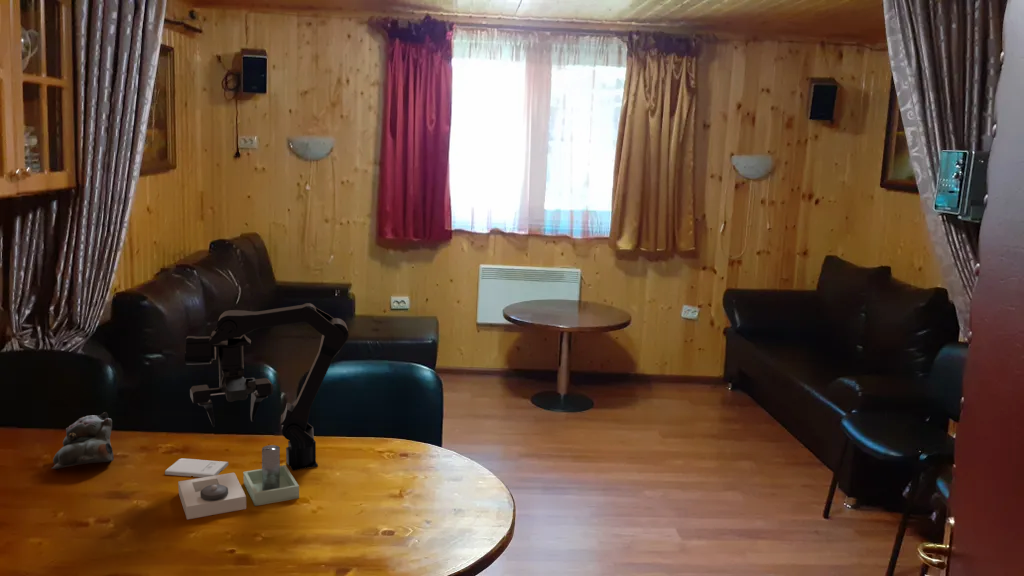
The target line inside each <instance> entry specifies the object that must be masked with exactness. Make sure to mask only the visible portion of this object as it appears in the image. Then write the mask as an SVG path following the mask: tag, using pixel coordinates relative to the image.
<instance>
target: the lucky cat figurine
mask: <svg viewBox="0 0 1024 576" xmlns="http://www.w3.org/2000/svg"><path fill="white" fill-rule="evenodd" d="M112 429H113V420H112V418H109V413H108V412H107V411H105V412H103V413H101V414H100V415H95V414H94V415H93V414H92V415H86V416H81V417H80V418H78V419H77V420H76V421H75V422H73V423H72V424H70V425H69V426H68V427H65V431H66V432H65V435H66V436H65V437H64V439H63V441H62V445H63V446H62V447H61V448H60V449H59V450H58V451H57V452H56V453H55V455H54V457H53V458H52V461H53V462H52V463H53V464H54V465H53V467H52V466H51V469H55V471H58V470H60V469H63V468H67V467H72V466H73V467H74V466H77V465H86V464H94V463H95V464H96V463H112V462H113V461H114V459H115V457H114V451H113V447H112V444H111V434H112Z"/></svg>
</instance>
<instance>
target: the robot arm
mask: <svg viewBox="0 0 1024 576" xmlns="http://www.w3.org/2000/svg"><path fill="white" fill-rule="evenodd" d="M305 322H306V323H307V324H308V325H310V326H311V327H312V328H313V329H315V330H316V331H317V332H318V333H320V334H321V339H320V345H319V349H318V352H317V354H316V357H315V358H314V361H313V362H312V365H311V367H310V369H309V371H308V374H307V376H306V379H305V381H304V383H303V385H302V386H301V389H300V392H299V394H298V396H297V398H296V400H294V402H293V403H290V402H287V403H286V406H285V409H284V411H283V413H282V414H281V415H280V426H281V434H282V436H283V437H284V438H285V439H286V440H288V443H287V447H286V448H285V453H286V454H285V457H286V462H285V463H286V464H287V465H288V467H289V468H290V469H291V470H292V471H298V470H299V471H300V470H304V469H305V470H306V469H311V468H317V467H318V466H319V463H318V462H317V458H316V457H317V456H316V455H317V451H316V449H317V444H316V443H317V442H316V440H315V436H314V426H312V425H311V424H310V423H309V418H310V411H311V408H312V405H313V404H314V402H315V399H316V396H317V394H318V393H319V390H320V388H321V386H322V384H323V382H324V379H325V377H326V376H327V372H329V371H328V370H329V368H330V366H331V364H332V362H333V359H335V357H336V356H337V355H338V354H339V353H340V351H341V350H342V348H343V347H344V346H345V344H346V342H347V341H348V339H349V336H350V334H349V329H348V326H347V324H346V322H345V321H344V320H343V319H342V318H338V317H335V318H334V317H333V316H331V315H330V314H328V313H326V312H324V311H323V310H321V309H319V308H317V307H316V306H315V305H314V304H313V303H311V302H309V303H308V302H306V303H304V304H300V305H299V304H298V305H293V306H292V305H291V306H286V307H278V308H273V309H271V308H270V309H267V310H260V311H250V310H243V309H242V310H241V309H239V310H237V309H234V310H233V309H232V310H231V309H229V310H225V311H224V312H223V313H221V314H220V316H219V318H218V320H217V323H216V328H215V329H214V330H212V332H211V334H210V336H195V335H187V337H185V352H184V363H185V365H187V366H189V365H193V366H194V365H211V364H212V362H213V360H217V354H218V375H219V376H218V379H219V385H218V386H219V387H214V388H213V387H212V388H209V385H208V384H200V385H192V386H191V388H190V389H189V396H190V399H191V401H192V404H195V405H196V404H198V406H200V407H204V409H205V411H206V413H207V415H208V418H209V420H210V422H211V426H212V427H213V428H214V427H215V426H216V425H215V424H216V423H215V415H214V409H213V402H212V400H211V399H212V397H218V396H225V398H226V399H225V400H226V401H227V402H230V403H231V402H234V401H246V400H247V399H248V397H249V394H250V413H249V414H250V421H251V422H254V421H255V419H256V418H255V417H256V415H257V411H258V409H259V406H260V404H261V403H262V401H263V400H264V399H267V398H268V396H270V395H273V394H274V385H273V383H272V381H270V380H269V379H268V378H267V377H263V378H255V377H246V376H245V368H244V367H245V365H244V364H245V363H244V347H248V346H249V347H250V346H251V344H252V343H251V342H252V340H251V339H250V338H249V337H248V336H246V334H249V333H251V332H253V331H256V330H260V329H266V328H272V327H279V326H287V325H292V324H299V323H305ZM217 349H218V353H217Z"/></svg>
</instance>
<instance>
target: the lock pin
mask: <svg viewBox="0 0 1024 576" xmlns="http://www.w3.org/2000/svg"><path fill="white" fill-rule="evenodd" d="M280 449H281V448H280V446H278V445H275V444H268V445H265V446H263V447H261V469H262V490H263V491H266V490H271V489H277V488H280V466H281V462H280V461H281V460H280V459H281V457H280V456H281V453H280V452H281V451H280Z"/></svg>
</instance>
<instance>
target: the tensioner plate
mask: <svg viewBox="0 0 1024 576" xmlns="http://www.w3.org/2000/svg"><path fill="white" fill-rule="evenodd" d="M177 485H178V495H179V498H180V502H181V504H182V508H183V511H184V514H185V518H186V520H192V519H197V518H203V517H209V516H212V515H218V514H225V513H230V512H237V511H240V510H241V511H242V510H246V509H247V495H246V494H245V493H246V492H245V491H244V489H243V487H242V485H241V483H240V482H239V479H238V477H237V475H236V473H235V472H229V473H222V474H218V475H216V476H209V477H196V478H191V479H186V480H180V481H179V480H178V484H177Z"/></svg>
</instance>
